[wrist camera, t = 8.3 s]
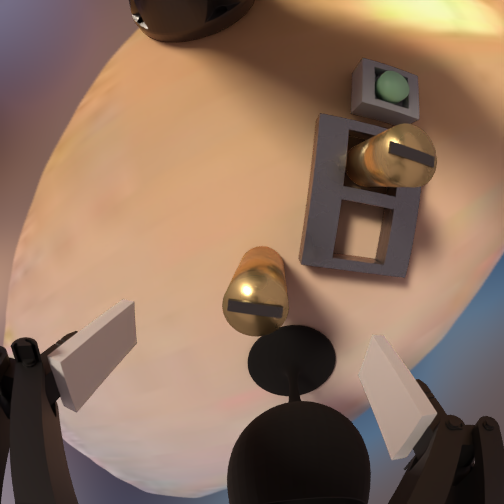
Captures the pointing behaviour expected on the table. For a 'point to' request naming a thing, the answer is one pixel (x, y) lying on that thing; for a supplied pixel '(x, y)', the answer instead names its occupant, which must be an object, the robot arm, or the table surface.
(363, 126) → the grey flat frame
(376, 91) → the button
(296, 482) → the wine glass
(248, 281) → the loose billet
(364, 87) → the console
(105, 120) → the table surface
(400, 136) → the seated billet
